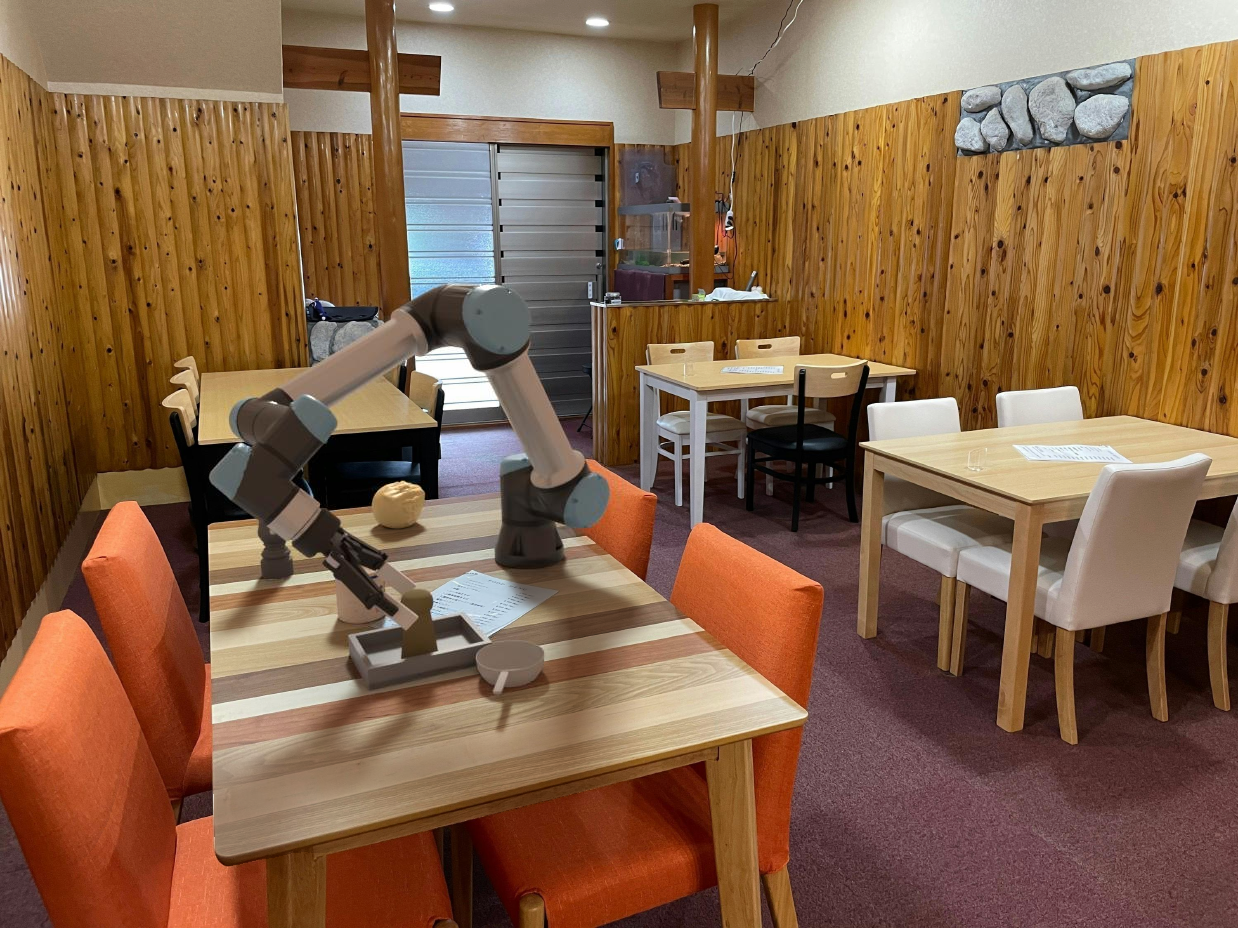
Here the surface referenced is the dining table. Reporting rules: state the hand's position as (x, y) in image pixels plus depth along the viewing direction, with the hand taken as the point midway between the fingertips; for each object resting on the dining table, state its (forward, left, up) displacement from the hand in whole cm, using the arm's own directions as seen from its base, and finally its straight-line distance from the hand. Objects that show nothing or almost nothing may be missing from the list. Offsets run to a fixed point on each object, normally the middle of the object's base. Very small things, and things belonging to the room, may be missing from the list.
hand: (411, 606), depth 142 cm
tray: (-1, 0, -9) cm, 9 cm away
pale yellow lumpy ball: (-17, -74, -10) cm, 77 cm away
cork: (-1, +1, -8) cm, 9 cm away
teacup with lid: (+3, -24, -10) cm, 26 cm away
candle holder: (+14, -52, -10) cm, 55 cm away
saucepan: (-10, +15, -10) cm, 21 cm away
